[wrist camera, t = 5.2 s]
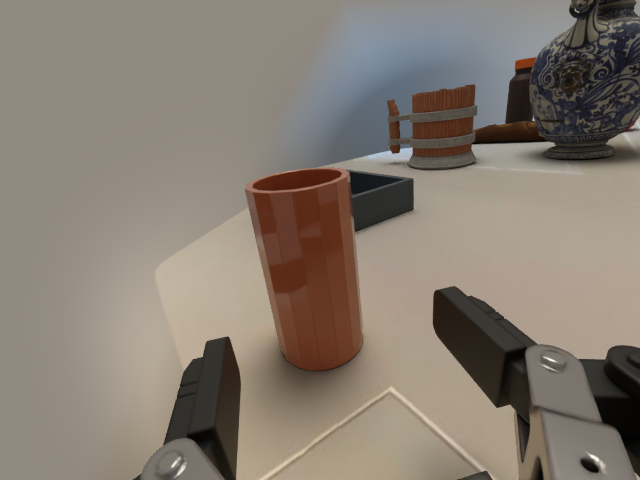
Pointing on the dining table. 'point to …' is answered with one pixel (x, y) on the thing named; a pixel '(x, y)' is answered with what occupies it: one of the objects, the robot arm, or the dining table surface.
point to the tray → (379, 197)
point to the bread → (508, 133)
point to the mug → (437, 128)
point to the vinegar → (520, 93)
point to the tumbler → (309, 263)
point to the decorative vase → (588, 80)
